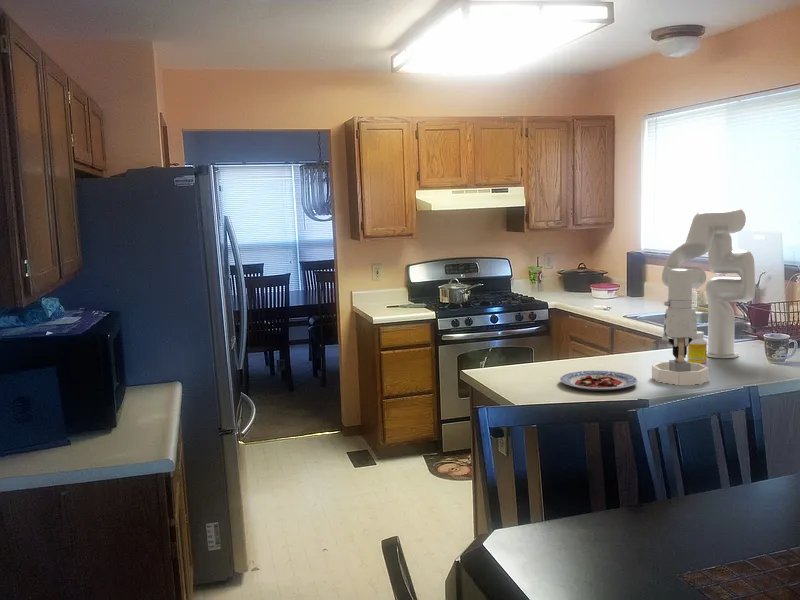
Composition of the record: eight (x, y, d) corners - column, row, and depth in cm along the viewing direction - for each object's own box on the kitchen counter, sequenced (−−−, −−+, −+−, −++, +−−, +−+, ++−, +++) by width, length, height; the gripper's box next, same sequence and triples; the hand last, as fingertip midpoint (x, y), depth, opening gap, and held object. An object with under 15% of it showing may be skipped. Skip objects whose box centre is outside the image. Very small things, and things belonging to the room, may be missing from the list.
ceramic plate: (636, 396, 216) (636, 387, 216) (555, 392, 226) (555, 384, 225) (639, 377, 240) (639, 369, 240) (565, 375, 249) (565, 367, 249)
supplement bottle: (708, 367, 250) (708, 333, 249) (689, 367, 252) (689, 333, 250) (704, 363, 257) (704, 330, 255) (685, 363, 258) (685, 330, 257)
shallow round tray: (647, 374, 244) (646, 357, 243) (694, 372, 243) (694, 355, 242) (664, 386, 227) (663, 367, 226) (715, 384, 226) (715, 365, 225)
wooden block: (675, 370, 236) (675, 337, 235) (681, 370, 235) (680, 336, 235) (678, 372, 233) (678, 338, 232) (684, 372, 232) (684, 337, 232)
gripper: (660, 306, 228) (660, 360, 230) (707, 305, 228) (707, 358, 230) (653, 304, 236) (653, 355, 238) (698, 302, 235) (698, 354, 237)
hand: (679, 356), depth 234 cm, fingers closed on wooden block, 1 cm apart
